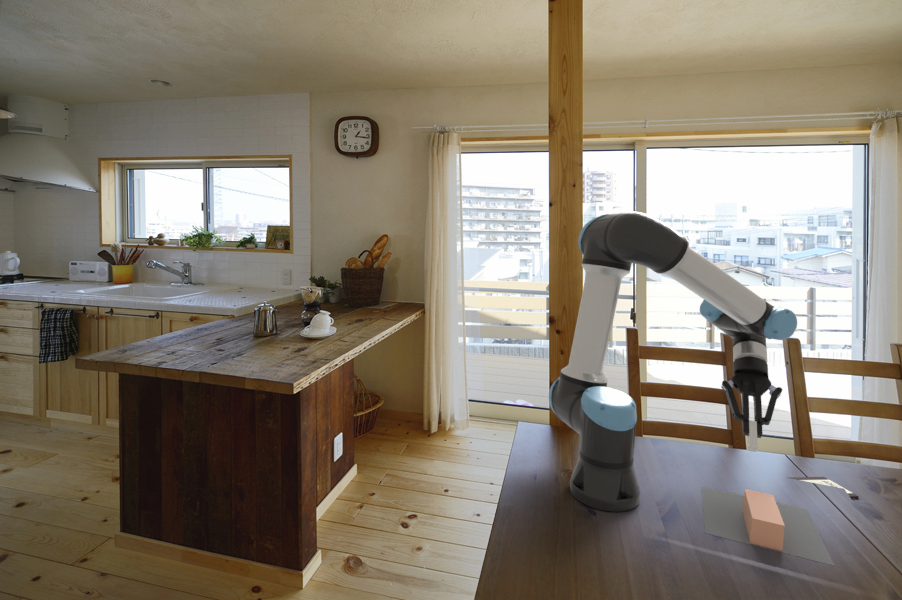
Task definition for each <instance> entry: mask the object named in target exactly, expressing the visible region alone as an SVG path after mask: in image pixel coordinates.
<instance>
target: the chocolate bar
mask: <svg viewBox="0 0 902 600" xmlns="http://www.w3.org/2000/svg"><path fill="white" fill-rule="evenodd" d="M787 479H792V480H797V481H803V482H807V483H812V484H818V485H821V486H828V487H834V488H838V489H843V490H844V491H845V492H846V493H847V495H848V496H849V498H850V500H851V499H852V500H853V499H859V495H857V494H856V493H854V492H852V491H850V490H848V489H846V488H845V487H843V486H841V485H839V484H838V483H836V482H834V481H833V480H830V479H829V478H827V477H826V476H806V477H805V476H803V477H802V476H801V477H800V476H799V477H797V476H796V477H795V476H794V477H792V476H791V477H787Z"/></svg>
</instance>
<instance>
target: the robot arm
mask: <svg viewBox="0 0 902 600" xmlns="http://www.w3.org/2000/svg"><path fill="white" fill-rule="evenodd" d="M578 235H579V236H578V248H579V250H580V253H581V254H582V260H581V267H582V268H583V270H584V271H585V277H584V283H583V289H582V294H581V299H580V304H579V309H578V312H577V313H578V314H577V320H576V325H575V329H574V334H573V339H572V344H571V349H570V355H569V359H568V364H567V365H566V366H565V367H563V368H561V369H560V374H559V376H558V378H557V379H556V380H555V381H553V383H552V384H551V386H550V388H549V392H548V403H549V406H550V408H551V411H552V413H554V414H555V416H556V417H557V418H558V419H559V420H560V421H561V422H562V423H564V424H566V425H567V426H568V427H569V428H571V429H572V430H573V431H574V432H576V433H577V434H578V435H579V455H578V459H577V461H576V464H575V466H574V469H573V472H572V474H571V475H570V480H569V481H570V482H569V490H570V493H571V494H572V497H574V498H575V499H576V500H577V501H579V502H581V503H582V504H584V505H586V506H588V507H591V508H593V509H596V510H600V511H604V512H605V511H606V512H613V513H614V512H617V513H618V512H627V511H631V510H633V509H634V508H636V507H637V506H638V505H639V504H640V499H641V498H640V497H641V490H640V486H639V481H638V477H637V475H636V472H635V468H634V458H635V444H636V442H635V441H636V430H637V429H636V427H637V420H638V414H637V404H636V402H635V400H634V399H633V398H632V396H630V395H629V394H627V393H626V392H624V391H621V390H619V389H614V388H613V387H609V386H607V385H608V381H609V380H608V378H607V377H606V375H605V373H604V369H605V364H606V359H607V355H608V349H609V344H610V339H611V336H612V335H611V333H612V329H613V328H612V327H613V324H614V321H615V320H614V319H615V313H616V310H617V309H616V308H617V304H618V299H619V294H620V289H621V285H622V280H623V278H624V277H626V276H627V275H629V274H630V272H631V268H632V265H633V264H636V265H640V266H643V267H646V268H648V269H650V270H652V271H653V272H654V273H656V274H659V275H665V274H666V275H667V276H668V277H670V278H672V279H673V280H675V281H676V282H677V283H679V284H680V285H682V286H683V287H685V288H687V289H688V290H690V291H691V292H693V293H694V294H695V295H697V296H698V297H700V298H701V299H702V302H701V303H700V305H699V312H700V316H702V317H703V318H704V319H706V320H707V322H708V323H711V325H713V326H715V327H716V328H717V329H719V330H720V331H722V332H723V333H724V334H726V335H727V336H728V337H730V338H731V339H732V354H733V355H732V358H733V359H732V361H733V363H732V370H733V371H732V376H731V378H730V379H731V380H722V382H721V389H722V390H723V392H724V393H725V395H726V399H727V401H728V405H729V408H730V411H731V415H732V417H733V420H734V421H739V422H740V423H741V425H742V427H741V428H742V435H743V436H745V437H747V447H748V449H747V451H749V452H753V453H756V452H757V450H758V447H759V446H758V438H759V439H761V438H762V436H763V426H764V425H765V426H769V425H770V424H771V421H772V418H773V414H774V411H775V406H776V404H777V399H779V398H780V396H781V394H782V392H783V388H782V387H779V386H778V387H777V386H774V385H773V384H772V382H771V380H770V379H769V368H768V366H769V365H768V351H767V350H768V347H767V339H768V340H777V341H784V340H788V339H789V338H791V337H792V336H793V335H794V333H795V331H796V330H797V326H798V318H797V316H796V314H795V313H794V311H793V310H791V309H789V308H785V307H784V308H783V307H782V306H774V305H772V304H770V303H769V302H767V301H766V300H765V299H763V298H762V297H760V296H759V295H758V294H756V293H755V292H753V291H752V290H750V288H748V287H747V286H745V285H744V284H742V283H741V282H739V281H738V280H737V279H735V278H734V277H733V276H731V275H730V274H728V273H727V272H726V271H724V270H723V269H722V268H720V267H719V266H717V265H716V264H715V263H713V262H711V261H710V260H708V258H706V257H705V256H703V255H702V254H701V253H700V252H698V251H696V250H695V249H694V248H693V247H690V242H689V239H688V238H686V236H684V235H682V234H681V233H680V232H679V231H677V230H675V228H672V227H671V226H669V225H667V224H666V223H664V222H663V221H661V220H660V219H657V218H656V217H654V216H652V215H650V214H647V213H644V212H639V211H626V212H620V213H611V214H609V213H606V214H601V215H599V216H596V217H594V218H592V219H590V220H589V221H587V222H586V223H585V224H584V226H583V227H582V228H581V230H580V233H579V234H578ZM733 388H735V389H736V390H737V391H738V393H740V394H741V395H740V397H741V411H740V409H739V405H738V403H737V399H736V395H735V393H734V389H733ZM768 390H769V392H768V394H769V395H770V399H769V401H768V405H767V409H766V412H765V416H764V417H763V411H762V409H763V408H762V396H763V395H764V394H765V393H766V392H767V391H768ZM750 397H752V399H753V412H754V414H753V415H754V419H753V420H751V419H750V400H749V398H750Z"/></svg>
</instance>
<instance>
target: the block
mask: <svg viewBox="0 0 902 600" xmlns="http://www.w3.org/2000/svg"><path fill="white" fill-rule="evenodd" d="M743 491H744V493H743V496H744V502H743V515H744V519H745V523H746V527H747V532H748V536H749V540H750V543H752V544H756V545H760V546H764V547H768V548H772V549H776V550H780V551H782V549H783V539H784V529H785V525H784V522H783V520H782V517H781V514H780V512H779V509H778V506H777V504H776V503H777V501H776V498H775V496H774V494H770V493H766V492H761V491H756V490H751V489H747V488H746V489H745V488H744V490H743Z"/></svg>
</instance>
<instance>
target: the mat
mask: <svg viewBox="0 0 902 600" xmlns="http://www.w3.org/2000/svg"><path fill="white" fill-rule="evenodd" d="M700 489H701V499H702V500H701V501H702V511H703V521H704V522H703V523H704V526H703V527H704V533H705V534H706V535H711V536H715V537H719V538H723V539H725V540H726V539H727V540H731V541H734V542H739V543H743V544H747V545H750V546H754V547H758V548H763V549H766V550H768V551H769V550H771V551H774V552H777V553H782V554H785V555H788V556H789V555H790V556H793V557H797V558H801V559H806V560H810V561H813V562H817V563H821V564H825V565H830V566H833V567H835V564H834V562H833V560H832V557H831V556H830V553H829V552H828V550H827V547H826V546H825V544H824V541H823V539H822V537H821V536H820V533H819V531H818V529H817V527H816V524H815V523H814V521H813V519H812V517H811V515H810V512H809V511H808V508H803V507H798V506H795V505H789V504H784V503H780V502H776V504H777V506H778V509H779V512H780V514H781V517H782V520H783V522H784V525H785V529H784V539H783V549H782V551H780V550H776V549H772V548H768V547H764V546H760V545H756V544H752V543H750V540H749V536H748V532H747V527H746V523H745V519H744V515H743V502H744V494H743V495H741V494H738V493H734V492H728V491H725V490H718V489H714V488H709V487H705V486H701V487H700Z"/></svg>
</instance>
